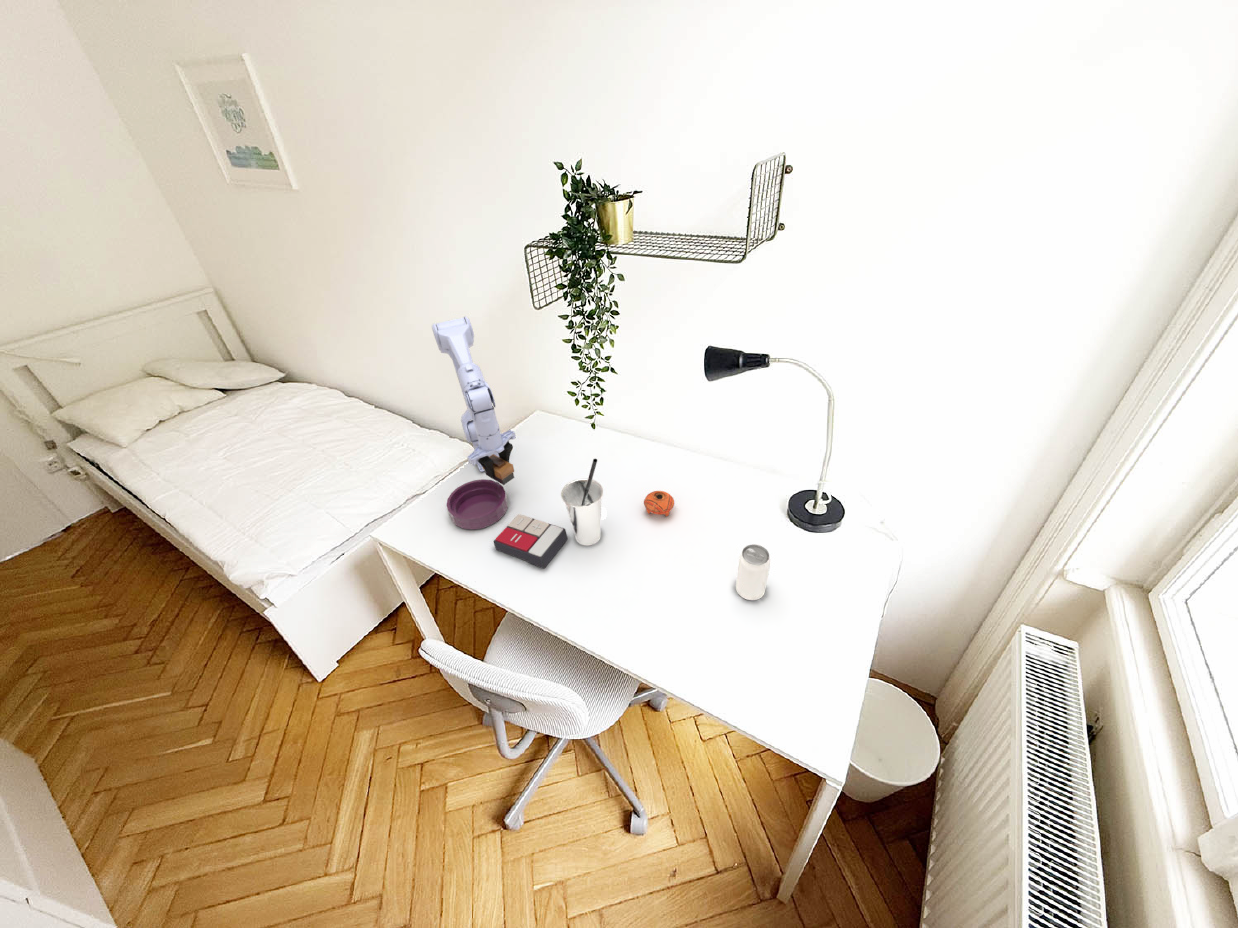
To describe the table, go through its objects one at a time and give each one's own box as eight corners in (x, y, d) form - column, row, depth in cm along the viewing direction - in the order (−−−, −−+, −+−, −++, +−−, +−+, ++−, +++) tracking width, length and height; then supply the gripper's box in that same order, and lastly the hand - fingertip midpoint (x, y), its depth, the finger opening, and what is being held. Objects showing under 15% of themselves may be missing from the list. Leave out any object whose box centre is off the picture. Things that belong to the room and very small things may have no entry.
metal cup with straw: (607, 556, 129) (596, 461, 111) (563, 551, 131) (545, 457, 113) (615, 524, 138) (607, 431, 119) (574, 520, 140) (559, 428, 121)
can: (744, 573, 123) (749, 538, 115) (769, 587, 119) (776, 551, 112) (730, 592, 119) (734, 556, 111) (756, 606, 116) (762, 570, 108)
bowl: (446, 502, 148) (441, 490, 145) (499, 484, 153) (496, 472, 150) (457, 538, 137) (452, 526, 134) (515, 518, 142) (511, 506, 139)
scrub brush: (484, 475, 145) (479, 459, 141) (496, 466, 147) (492, 451, 144) (503, 486, 141) (499, 470, 137) (515, 477, 143) (512, 461, 140)
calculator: (518, 511, 138) (565, 526, 132) (521, 523, 141) (568, 538, 134) (491, 539, 131) (540, 556, 125) (495, 551, 134) (544, 569, 127)
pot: (645, 498, 144) (650, 480, 140) (672, 507, 144) (678, 489, 139) (638, 518, 138) (643, 499, 134) (666, 527, 137) (673, 509, 133)
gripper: (475, 450, 128) (487, 491, 136) (519, 422, 136) (528, 462, 145) (457, 440, 132) (470, 481, 140) (501, 413, 140) (511, 453, 149)
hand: (498, 471), depth 143 cm, fingers closed on scrub brush, 4 cm apart
